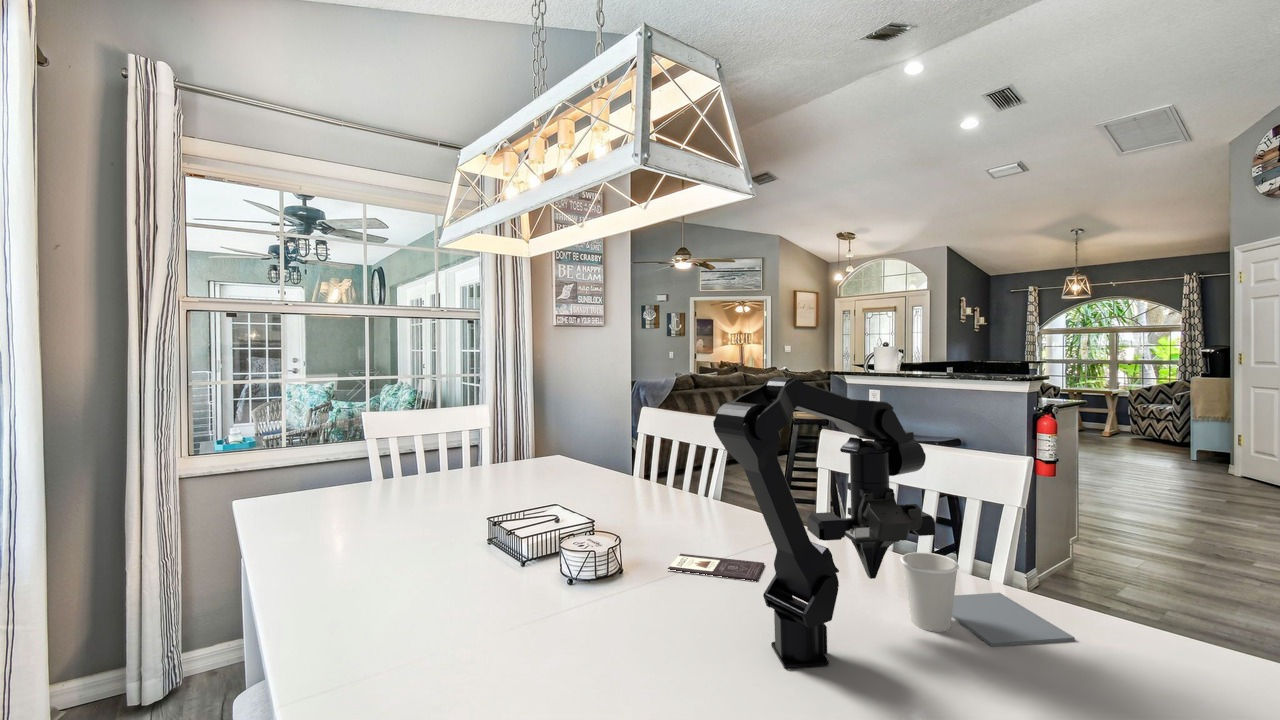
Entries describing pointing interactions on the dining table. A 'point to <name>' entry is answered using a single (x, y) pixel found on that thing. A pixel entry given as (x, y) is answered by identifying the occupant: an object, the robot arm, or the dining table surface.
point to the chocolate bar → (717, 566)
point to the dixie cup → (930, 589)
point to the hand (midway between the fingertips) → (871, 577)
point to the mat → (1004, 621)
